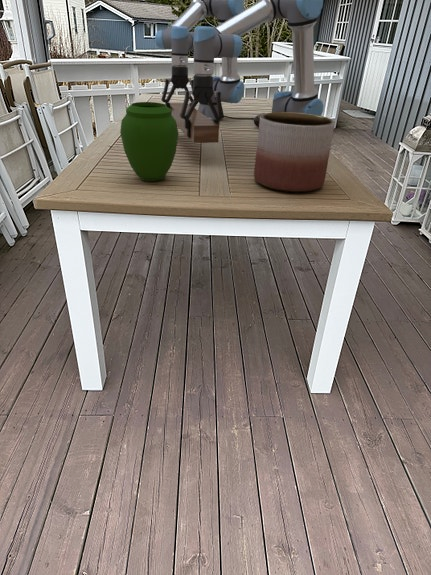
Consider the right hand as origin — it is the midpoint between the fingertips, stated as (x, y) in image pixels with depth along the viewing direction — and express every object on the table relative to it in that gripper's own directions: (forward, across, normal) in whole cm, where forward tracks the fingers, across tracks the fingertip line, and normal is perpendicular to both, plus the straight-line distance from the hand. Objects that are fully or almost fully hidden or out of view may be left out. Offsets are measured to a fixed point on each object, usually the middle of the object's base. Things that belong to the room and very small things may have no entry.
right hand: (201, 137), depth 164 cm
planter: (+9, +24, -33) cm, 42 cm away
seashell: (+9, +51, +63) cm, 81 cm away
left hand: (0, 0, +42) cm, 43 cm away
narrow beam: (+1, 0, +21) cm, 21 cm away
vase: (+10, -24, -21) cm, 33 cm away
